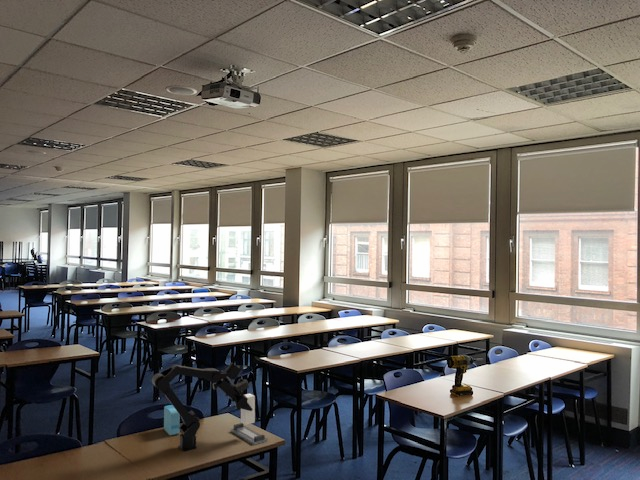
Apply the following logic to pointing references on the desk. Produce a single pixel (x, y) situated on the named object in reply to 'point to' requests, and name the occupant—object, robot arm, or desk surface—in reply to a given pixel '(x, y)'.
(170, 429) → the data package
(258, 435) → the mounting plate
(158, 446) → the desk surface
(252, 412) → the block
